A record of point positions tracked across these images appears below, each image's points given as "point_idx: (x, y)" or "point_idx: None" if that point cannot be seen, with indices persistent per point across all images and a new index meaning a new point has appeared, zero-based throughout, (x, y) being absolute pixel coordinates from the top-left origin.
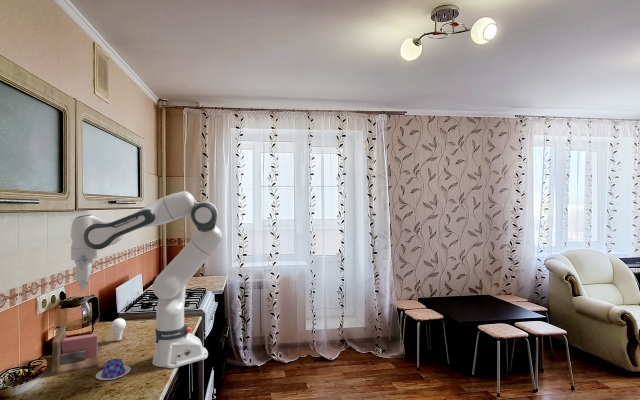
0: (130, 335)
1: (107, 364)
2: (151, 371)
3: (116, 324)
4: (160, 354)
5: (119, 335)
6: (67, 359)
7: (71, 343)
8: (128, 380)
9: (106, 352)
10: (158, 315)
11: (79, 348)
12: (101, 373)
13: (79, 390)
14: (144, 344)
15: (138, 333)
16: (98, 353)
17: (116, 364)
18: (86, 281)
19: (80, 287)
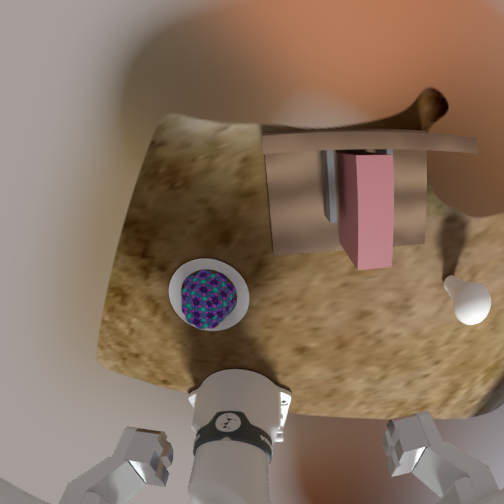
0: None
1: (186, 299)
2: (189, 364)
3: (463, 304)
4: (206, 399)
5: (448, 291)
6: (324, 168)
7: (353, 182)
8: (158, 326)
9: None
10: (203, 477)
11: (348, 204)
12: (218, 268)
13: (138, 233)
14: (379, 346)
15: None
16: None
17: (185, 318)
18: (416, 466)
19: (115, 453)
